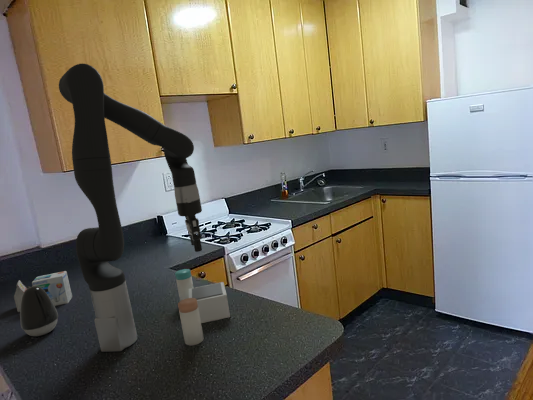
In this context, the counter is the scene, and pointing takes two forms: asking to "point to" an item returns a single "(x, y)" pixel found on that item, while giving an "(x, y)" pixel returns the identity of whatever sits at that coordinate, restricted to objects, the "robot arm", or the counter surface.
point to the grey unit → (211, 301)
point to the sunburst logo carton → (19, 294)
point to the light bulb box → (55, 287)
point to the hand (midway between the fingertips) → (196, 247)
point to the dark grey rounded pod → (37, 312)
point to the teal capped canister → (184, 283)
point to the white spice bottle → (190, 321)
